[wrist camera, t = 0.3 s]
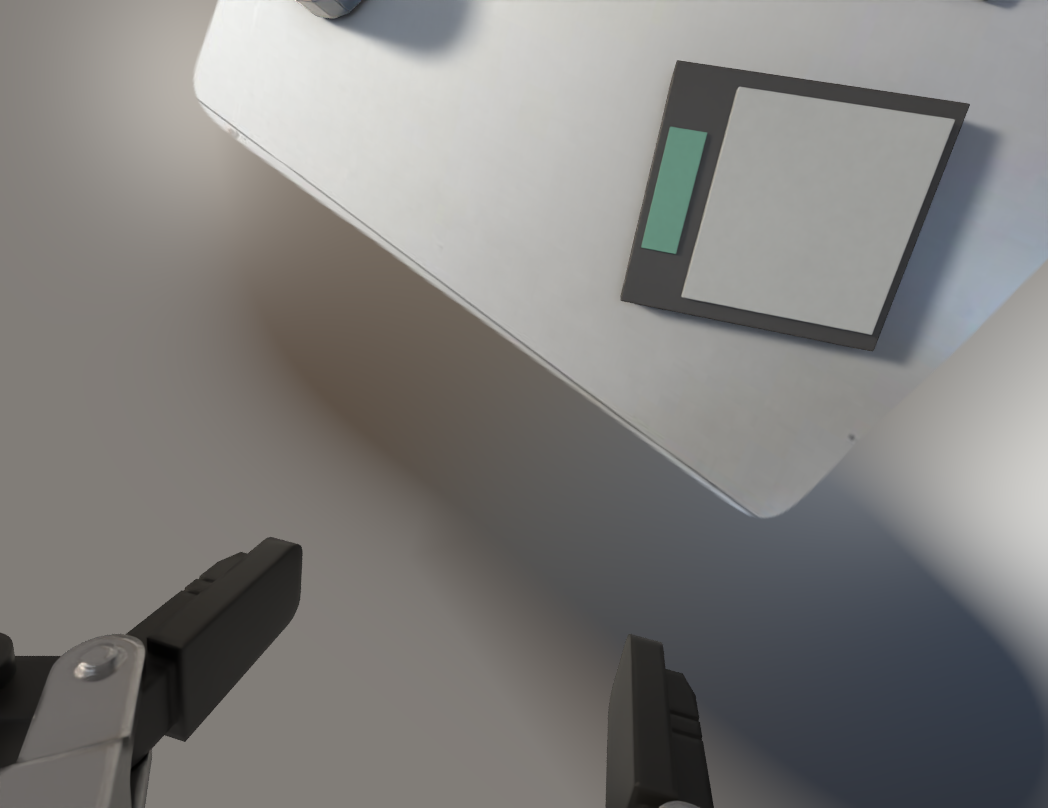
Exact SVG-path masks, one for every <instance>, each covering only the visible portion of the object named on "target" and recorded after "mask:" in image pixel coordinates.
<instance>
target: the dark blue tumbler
mask: <svg viewBox="0 0 1048 808" xmlns="http://www.w3.org/2000/svg"><path fill="white" fill-rule="evenodd" d="M295 1H296V2H297V3H299V4H300V5H301V6H303V7H304V8H305V9H307V10H308V11H310V12H311V13H313V14H314V15H316V16H318V17H325V18H332V19H333V18H337V17H339V16H342V15H345V14H348V13H349V12H351V11H352V10H353V9H354V8H355V7H356V6H357V5H358V4H359V3H360V2H361V1H362V0H295Z"/></svg>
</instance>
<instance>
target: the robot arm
mask: <svg viewBox="0 0 1048 808" xmlns="http://www.w3.org/2000/svg"><path fill="white" fill-rule="evenodd" d="M301 573H302V547H301V546H300V545H299V544H295V543H292V542H287V541H284V540H280V539H277V538H273V537H269V538H266V539H265V540H264V541H262V542H261V543H260V544H259V545H257V547H255V548H254V549H253V550H251V551H250V552H249V553H248V554H246V553H243V552H240V553H238V554H235V555H233V556H231V557H228V558H226V559H224V560H221V561H219V562H217V563H216V564H215V565H214V566H212V567H211V568H209V569H208V570H207V571H206V572H204V573H203V574H202V575H201V576H200V578H199V579H196V580H194V581H193V582H192V583H190V584H189V585H188V586H187V587H185V590H184V591H181V592H179V593H178V594H176V595H175V596H174V597H173V598H171V599H170V600H169V601H167V602H166V603H165V604H164V605H162V606H161V607H160V608H159V609H157V610H156V611H155V612H153V613H152V614H151V615H150V616H148V617H147V618H146V619H145V620H144V621H142V622H141V623H139V624H138V625H137V626H136V627H134V628H133V629H132V630H131V631H129V632H128V633H127V634H125V635H124V634H112V635H105V636H101V637H96V638H93V639H90V640H88V641H85V642H83V643H81V644H79V645H77V646H75V647H73V648H72V649H70V650H68V651H67V652H66V653H64V654H63V655H62V656H15V655H14V648H13V643H12V640H11V639H10V637H9V636H7V635H5V634H2V633H0V808H145V803H146V795H147V789H148V781H149V774H150V767H151V760H152V748H153V747H154V746H155V744H156V743H157V742H158V741H159V740H160V739H161V738H162V737H163V736H164V735H166V736H169V737H172V738H175V739H178V740H181V741H184V742H185V741H186V740H187V739H188V738H189V736H191V735H192V733H193V732H194V731H195V730H196V728H198V727H199V725H200V724H201V723H202V722H203V721H204V720H205V718H206V717H207V716H208V715H209V714H210V713H211V712H212V711H213V709H214V708H215V707H216V706H217V705H218V704H219V703H220V701H221V700H222V699H223V698H224V697H225V696H226V695H227V693H228V692H229V691H230V690H231V689H232V688H233V687H234V685H235V684H236V683H237V682H238V681H239V680H240V679H241V677H242V676H243V675H244V674H245V673H246V672H247V671H248V670H249V668H250V667H251V666H252V665H253V664H254V663H255V662H256V660H257V659H258V658H259V657H260V656H261V655H262V654H263V652H264V651H265V650H266V649H267V648H268V647H269V646H270V645H271V643H272V642H273V641H274V640H275V639H276V638H277V637H278V635H279V634H280V633H281V632H282V631H283V630H284V629H285V627H286V626H287V625H288V624H289V623H290V621H291V620H292V618H293V616H294V614H295V612H296V610H297V607H298V605H299V601H300V593H301ZM698 720H699V715H698V709H697V702H696V696H695V694H694V692H693V690H692V689H691V687H690V686H689V684H688V682H687V681H686V679H685V677H684V675H683V674H682V673H679V672H675V671H671V670H668V669H665V661H664V651H663V645H662V643H661V642H658V641H654V640H650V639H647V638H643V637H639V636H635V635H632V634H629V635H628V637H627V639H626V642H625V646H624V649H623V653H622V656H621V659H620V663H619V666H618V669H617V673H616V676H615V680H614V683H613V687H612V692H611V697H610V703H609V712H608V740H607V778H606V808H714V806H713V801H712V794H711V788H710V782H709V776H708V769H707V763H706V757H705V752H704V745H703V741H702V733H701V727H700V722H699V721H698Z"/></svg>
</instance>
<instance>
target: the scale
mask: <svg viewBox="0 0 1048 808" xmlns="http://www.w3.org/2000/svg"><path fill="white" fill-rule="evenodd" d="M969 106H970V104H967V103H961V102H954V101H947V100H940V99H934V98H927V97H920V96H914V95H907V94H900V93H893V92H887V91H880V90H873V89H867V88H860V87H853V86H846V85H840V84H833V83H826V82H819V81H813V80H806V79H799V78H793V77H786V76H779V75H772V74H766V73H759V72H752V71H745V70H739V69H732V68H725V67H719V66H712V65H705V64H698V63H692V62H685V61H677V62H676V65H675V69H674V72H673V76H672V80H671V84H670V88H669V93H668V97H667V101H666V105H665V110H664V114H663V118H662V122H661V127H660V131H659V135H658V140H657V144H656V148H655V152H654V157H653V161H652V165H651V169H650V174H649V178H648V182H647V186H646V191H645V195H644V199H643V204H642V208H641V212H640V216H639V221H638V225H637V229H636V233H635V238H634V242H633V246H632V250H631V255H630V259H629V263H628V267H627V272H626V276H625V280H624V285H623V289H622V293H621V301H625V302H630V303H635V304H640V305H645V306H650V307H655V308H660V309H665V310H670V311H674V312H679V313H684V314H689V315H694V316H699V317H704V318H709V319H714V320H719V321H724V322H729V323H734V324H739V325H744V326H749V327H754V328H759V329H764V330H769V331H774V332H779V333H784V334H789V335H794V336H799V337H804V338H809V339H814V340H819V341H823V342H828V343H833V344H838V345H843V346H848V347H853V348H858V349H863V350H868V351H873V350H874V348H875V345H876V343H877V340H878V338H879V335H880V333H881V330H882V328H883V325H884V322H885V320H886V317H887V315H888V312H889V310H890V307H891V305H892V302H893V299H894V297H895V294H896V292H897V289H898V287H899V284H900V282H901V279H902V277H903V274H904V271H905V269H906V266H907V264H908V261H909V259H910V256H911V254H912V251H913V248H914V246H915V243H916V241H917V238H918V236H919V233H920V231H921V228H922V226H923V223H924V220H925V218H926V215H927V213H928V210H929V208H930V205H931V203H932V200H933V197H934V195H935V192H936V190H937V187H938V185H939V182H940V180H941V177H942V174H943V172H944V169H945V167H946V164H947V162H948V159H949V157H950V154H951V152H952V149H953V146H954V144H955V141H956V139H957V136H958V134H959V131H960V129H961V126H962V123H963V121H964V118H965V116H966V113H967V111H968V108H969Z"/></svg>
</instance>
